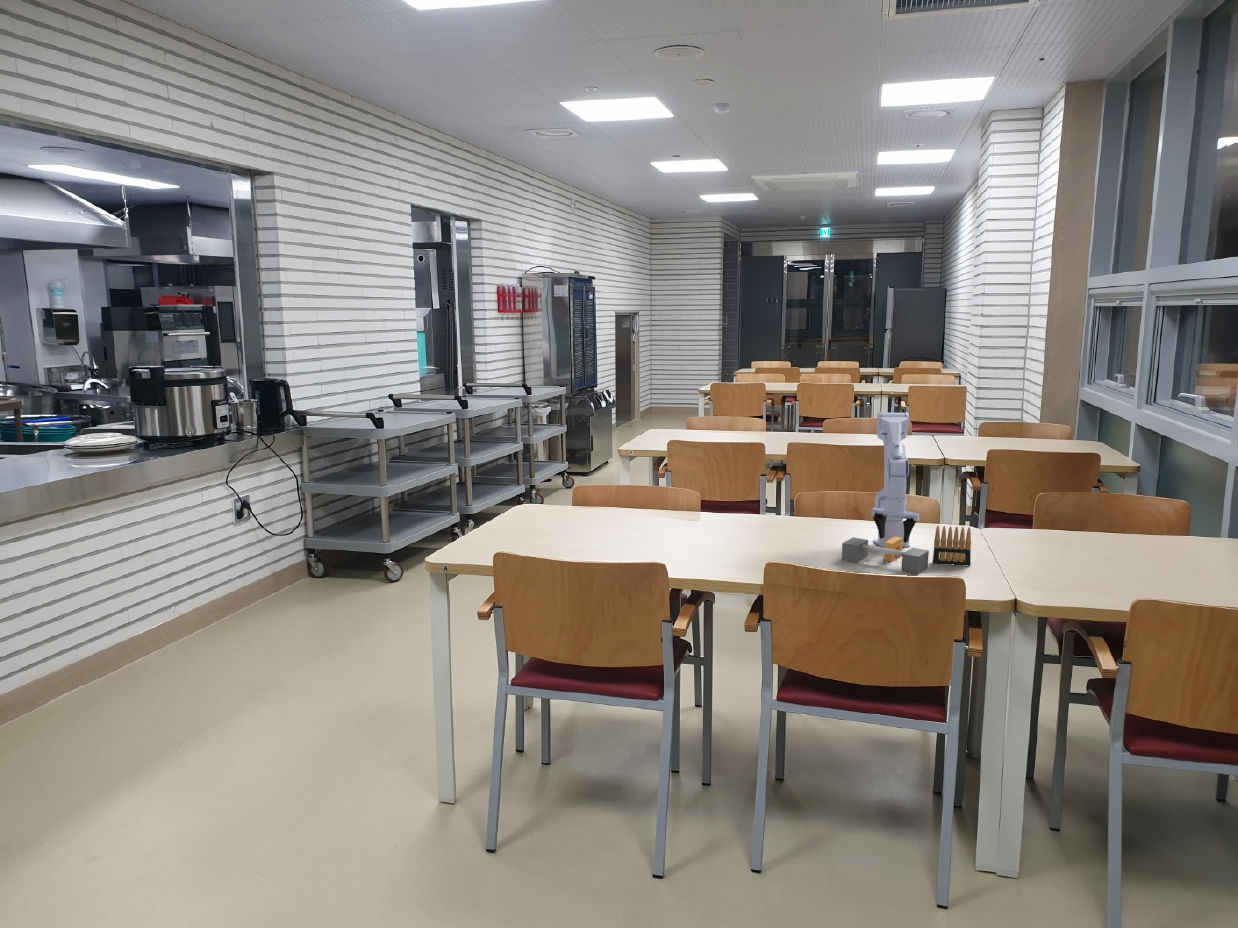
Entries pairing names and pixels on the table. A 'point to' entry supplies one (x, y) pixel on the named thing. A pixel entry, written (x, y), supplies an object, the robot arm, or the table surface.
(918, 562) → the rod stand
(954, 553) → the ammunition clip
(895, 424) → the robot arm
